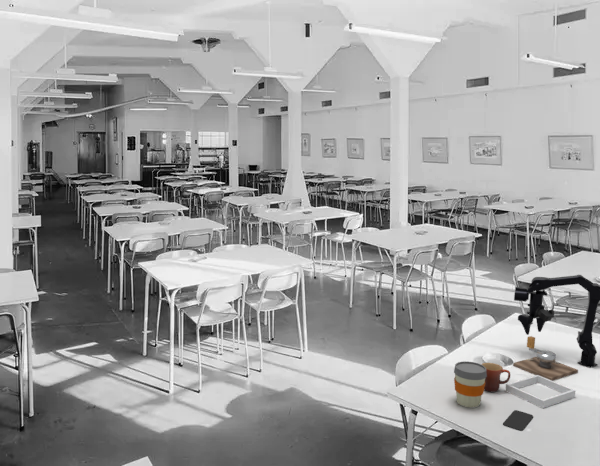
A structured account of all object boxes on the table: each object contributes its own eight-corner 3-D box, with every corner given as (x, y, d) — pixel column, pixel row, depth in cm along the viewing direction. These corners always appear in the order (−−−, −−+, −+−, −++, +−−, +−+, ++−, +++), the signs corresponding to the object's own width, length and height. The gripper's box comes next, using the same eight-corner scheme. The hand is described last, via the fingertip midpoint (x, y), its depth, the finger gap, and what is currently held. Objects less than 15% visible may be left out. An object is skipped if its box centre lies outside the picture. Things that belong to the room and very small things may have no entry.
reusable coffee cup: (480, 412, 212) (482, 376, 210) (448, 404, 219) (450, 368, 217) (487, 400, 223) (490, 365, 221) (457, 392, 229) (459, 358, 227)
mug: (479, 391, 231) (480, 368, 229) (479, 383, 239) (481, 361, 238) (509, 396, 227) (511, 373, 225) (508, 388, 235) (510, 365, 234)
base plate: (539, 358, 270) (540, 349, 270) (577, 372, 253) (578, 363, 252) (513, 365, 260) (513, 356, 259) (550, 381, 243) (551, 371, 242)
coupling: (522, 353, 263) (523, 337, 262) (533, 351, 267) (535, 335, 266) (547, 363, 251) (548, 347, 249) (559, 361, 254) (560, 344, 253)
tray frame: (536, 381, 243) (537, 374, 242) (574, 397, 228) (575, 390, 227) (505, 390, 232) (505, 384, 232) (542, 408, 217) (543, 401, 216)
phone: (501, 424, 203) (514, 409, 214) (501, 426, 203) (514, 411, 214) (522, 430, 198) (534, 415, 210) (522, 432, 198) (534, 417, 210)
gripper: (538, 309, 257) (535, 341, 260) (562, 304, 267) (559, 335, 269) (518, 303, 267) (515, 334, 269) (542, 299, 276) (540, 328, 279)
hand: (533, 333), depth 271 cm, fingers open, 9 cm apart
